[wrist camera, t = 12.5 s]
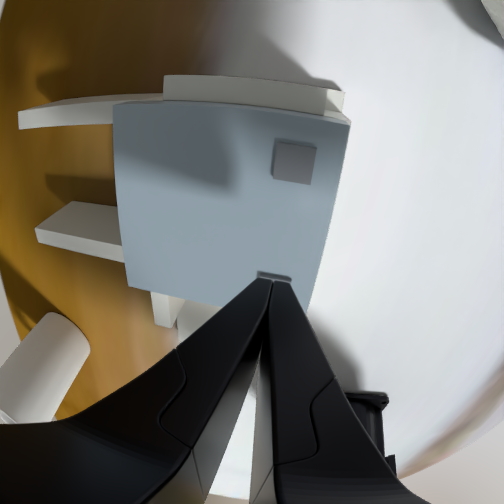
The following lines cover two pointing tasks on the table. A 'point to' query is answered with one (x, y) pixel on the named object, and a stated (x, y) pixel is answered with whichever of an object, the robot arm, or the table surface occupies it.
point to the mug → (41, 370)
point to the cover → (223, 196)
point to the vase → (496, 13)
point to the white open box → (106, 217)
